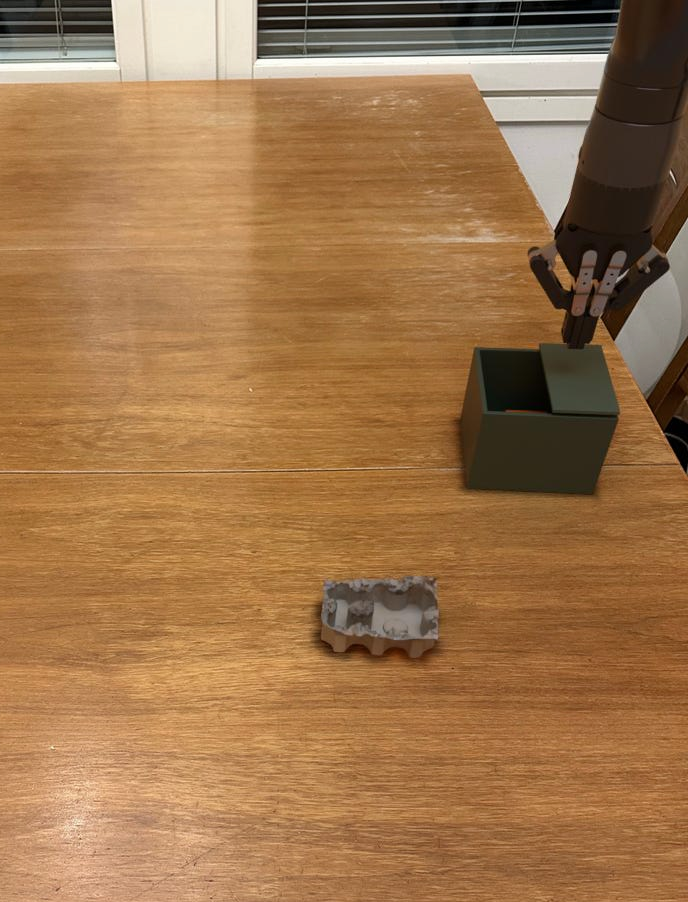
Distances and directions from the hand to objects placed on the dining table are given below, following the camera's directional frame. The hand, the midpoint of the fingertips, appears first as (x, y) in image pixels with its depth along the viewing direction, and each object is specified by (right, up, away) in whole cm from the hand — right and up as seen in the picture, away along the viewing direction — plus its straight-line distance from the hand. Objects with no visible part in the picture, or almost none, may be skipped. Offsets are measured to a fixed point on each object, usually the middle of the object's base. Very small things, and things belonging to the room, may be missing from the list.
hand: (574, 344), depth 96 cm
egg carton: (-21, -28, -6) cm, 35 cm away
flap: (+1, -3, +3) cm, 4 cm away
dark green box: (-2, -9, +10) cm, 14 cm away
